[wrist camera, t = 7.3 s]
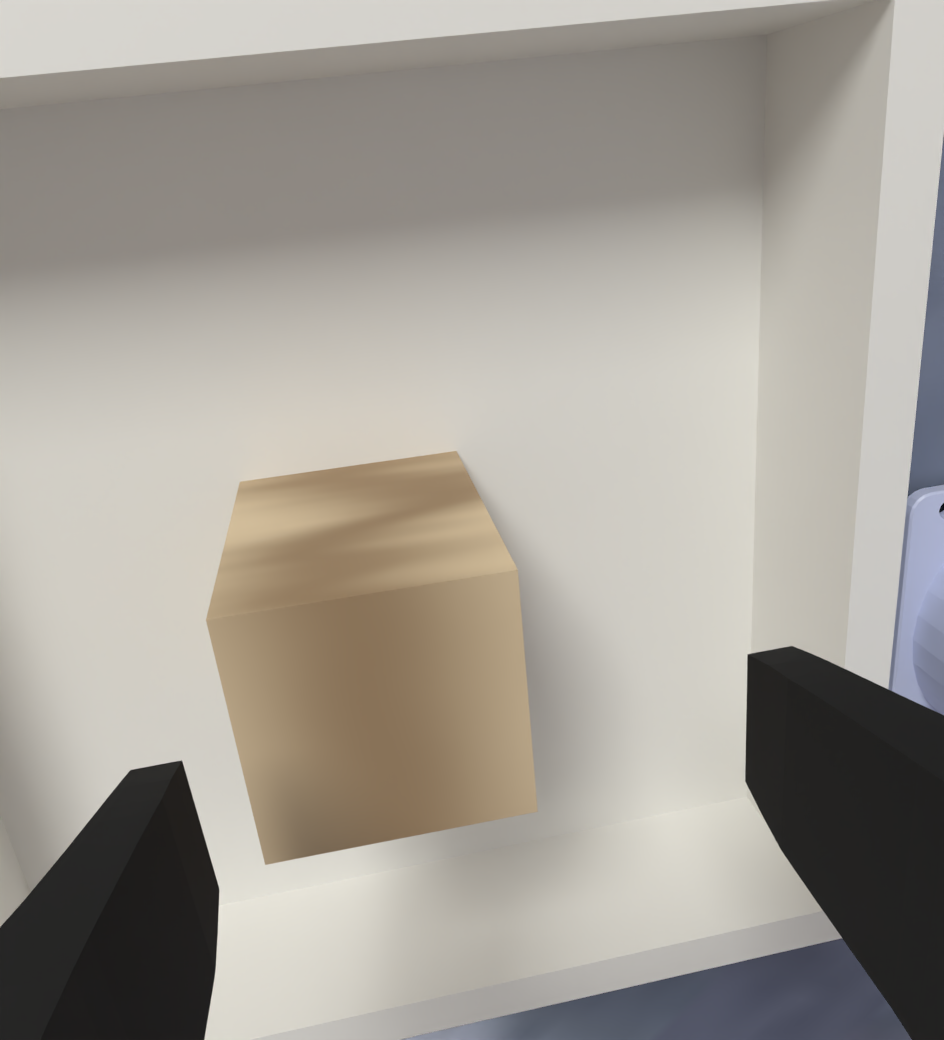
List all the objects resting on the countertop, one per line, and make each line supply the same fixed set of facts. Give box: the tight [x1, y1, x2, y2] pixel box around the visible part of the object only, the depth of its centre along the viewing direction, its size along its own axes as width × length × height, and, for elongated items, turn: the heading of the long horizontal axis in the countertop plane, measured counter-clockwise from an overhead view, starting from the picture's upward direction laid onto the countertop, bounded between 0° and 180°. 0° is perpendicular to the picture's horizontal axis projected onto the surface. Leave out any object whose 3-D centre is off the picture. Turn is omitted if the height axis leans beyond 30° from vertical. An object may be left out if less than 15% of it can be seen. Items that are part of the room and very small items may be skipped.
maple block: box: [206, 451, 538, 865], centre depth 16 cm, size 4×4×6 cm
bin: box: [0, 0, 944, 1040], centre depth 17 cm, size 20×20×4 cm
